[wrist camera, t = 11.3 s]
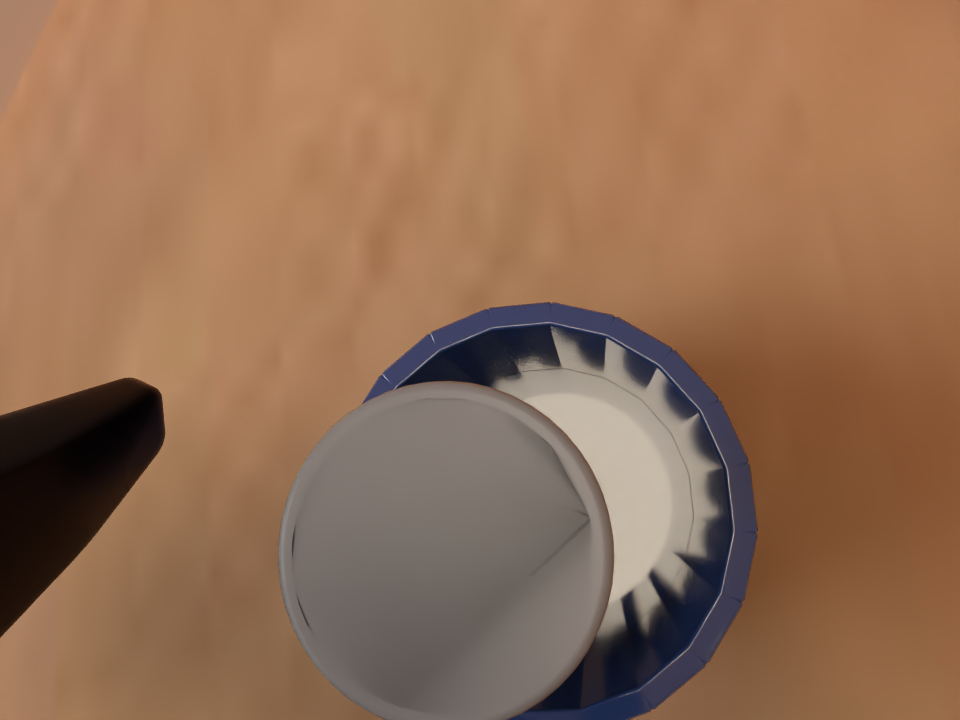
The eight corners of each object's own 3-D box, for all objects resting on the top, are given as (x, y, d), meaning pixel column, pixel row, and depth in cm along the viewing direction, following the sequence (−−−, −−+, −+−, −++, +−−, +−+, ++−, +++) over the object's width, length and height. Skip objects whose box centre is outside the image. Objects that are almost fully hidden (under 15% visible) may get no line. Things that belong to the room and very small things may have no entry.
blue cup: (605, 724, 17) (609, 832, 12) (352, 549, 19) (252, 575, 13) (765, 455, 18) (839, 442, 12) (506, 303, 19) (469, 231, 14)
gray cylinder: (567, 580, 17) (492, 810, 5) (478, 522, 18) (211, 602, 5) (622, 489, 17) (682, 497, 5) (532, 433, 18) (390, 318, 6)
